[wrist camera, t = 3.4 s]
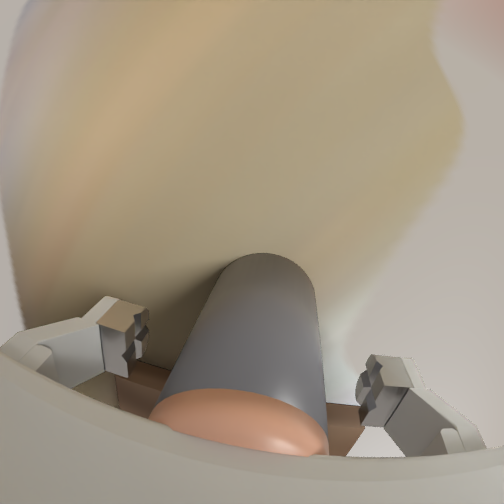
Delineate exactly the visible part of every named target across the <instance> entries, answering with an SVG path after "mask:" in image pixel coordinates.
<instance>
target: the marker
mask: <svg viewBox="0 0 504 504" xmlns="http://www.w3.org/2000/svg"><path fill="white" fill-rule="evenodd" d="M148 419H149V420H152V421H156V422H159V423H162V424H165V425H168V426H169V427H170V428H171V429H172V430H173V431H177V432H180V433H184V434H188V435H191V436H195V437H199V438H203V439H207V440H211V441H216V442H220V443H224V444H229V445H234V446H239V447H244V448H249V449H255V450H261V451H267V452H273V453H280V454H288V455H296V456H304V457H309V456H310V455H313V454H319V455H329V443H328V426H327V412H326V398H325V386H324V374H323V364H322V353H321V343H320V334H319V325H318V316H317V308H316V299H315V292H314V288H313V285H312V283H311V281H310V279H309V277H308V276H307V274H306V273H305V272H304V271H303V270H302V269H301V268H300V267H299V266H298V265H297V264H295V263H294V262H292V261H291V260H289V259H287V258H284V257H282V256H279V255H275V254H269V253H257V254H251V255H246V256H244V257H241V258H239V259H237V260H235V261H234V262H232V263H231V264H229V265H228V266H227V267H226V268H225V269H224V271H223V272H222V273H221V275H220V276H219V278H218V280H217V282H216V284H215V286H214V288H213V290H212V292H211V294H210V296H209V298H208V300H207V302H206V304H205V306H204V307H203V309H202V311H201V313H200V315H199V317H198V319H197V321H196V323H195V325H194V327H193V329H192V331H191V333H190V335H189V337H188V339H187V341H186V343H185V345H184V347H183V349H182V351H181V353H180V355H179V357H178V359H177V361H176V363H175V365H174V367H173V369H172V371H171V373H170V375H169V377H168V379H167V381H166V383H165V385H164V387H163V390H162V392H161V394H160V396H159V398H158V400H157V402H156V404H155V406H154V408H153V410H152V412H151V414H150V416H149V418H148Z"/></svg>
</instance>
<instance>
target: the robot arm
mask: <svg viewBox="0 0 504 504" xmlns="http://www.w3.org/2000/svg"><path fill="white" fill-rule="evenodd" d="M148 320H149V310H148V309H147V308H146V307H143V306H140V305H136V304H133V303H130V302H127V301H123V300H120V299H117V298H114V297H110V296H105V297H103V298H102V299H101V300H100V301H99V302H98V303H97V304H96V305H95V306H94V307H93V308H92V309H91V310H89V311H88V312H87V313H86V314H85V315H84V316H83V317H82V318H79V317H76V318H72V319H68V320H64V321H60V322H56V323H52V324H48V325H44V326H40V327H36V328H32V329H28V330H24V331H21V332H17V333H16V334H15V335H14V336H13V337H12V338H11V339H9V340H8V341H7V342H6V343H5V344H4V345H3V346H1V347H0V504H504V446H500V447H494V448H489V449H487V448H486V446H485V443H484V441H483V439H482V437H481V435H480V432H479V430H478V428H477V426H476V425H475V424H474V423H472V422H471V421H470V420H469V419H467V418H466V417H465V416H464V415H462V414H461V413H460V412H459V411H457V410H456V409H455V408H454V407H452V406H451V405H450V404H449V403H447V402H446V401H445V400H444V399H442V398H441V397H440V396H438V395H437V394H436V393H435V392H434V391H432V390H431V389H427V388H426V386H425V383H424V381H423V379H422V377H421V375H420V372H419V370H418V368H417V366H416V363H415V361H414V360H413V359H412V358H403V357H390V356H382V355H373V354H371V355H370V357H369V358H368V360H367V362H366V368H367V370H366V371H364V372H363V373H361V374H360V376H359V379H358V381H357V385H356V389H355V396H356V401H357V402H358V403H359V404H360V405H361V406H360V408H359V410H358V414H359V419H360V425H361V426H373V427H384V429H385V431H386V432H387V433H388V434H389V436H390V437H391V438H392V439H393V441H394V442H395V443H396V445H397V446H398V447H399V448H400V450H401V451H402V452H403V453H404V454H405V456H406V457H380V458H379V457H377V458H376V457H347V456H331V455H319V454H313V455H310V456H309V457H304V456H296V455H288V454H280V453H273V452H267V451H261V450H255V449H249V448H244V447H239V446H234V445H229V444H224V443H220V442H216V441H211V440H207V439H203V438H199V437H195V436H191V435H188V434H184V433H180V432H177V431H173V430H172V429H171V428H170V427H169V426H168V425H165V424H162V423H159V422H156V421H152V420H149V419H146V418H143V417H140V416H138V415H135V414H132V413H129V412H126V411H124V410H121V409H118V408H116V407H113V406H110V405H108V404H105V403H103V402H100V401H98V400H95V399H93V398H91V397H88V396H86V395H84V394H81V393H79V392H77V391H75V390H72V389H71V388H73V387H75V386H77V385H79V384H81V383H83V382H85V381H87V380H89V379H91V378H93V377H95V376H97V375H99V374H101V373H103V372H105V371H108V372H111V373H114V374H117V375H120V376H123V377H126V378H129V376H130V375H131V373H132V371H133V370H134V368H135V367H136V359H138V358H141V357H142V356H143V354H144V353H145V351H146V348H147V345H148V340H149V330H148V328H147V327H146V325H145V324H146V323H147V322H148ZM104 370H105V371H104Z"/></svg>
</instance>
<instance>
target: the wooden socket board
mask: <svg viewBox="0 0 504 504" xmlns="http://www.w3.org/2000/svg"><path fill="white" fill-rule="evenodd" d="M170 373H171V371H169V370H166V369H162V368H159V367H156V366H152V365H149V364H146V363H143V362H140V361H137V360H136V367H135V368H134V370H133V371H132V373H131V375H130V376H129V378H126V377H123V376H120V375H117V374H116V375H115V381H116V388H117V395H118V401H119V407H120V409H121V410H124V411H126V412H129V413H132V414H135V415H138V416H140V417H143V418H146V419H148V418H149V416H150V414H151V412H152V410H153V408H154V406H155V404H156V402H157V400H158V398H159V396H160V394H161V392H162V390H163V387H164V385H165V383H166V381H167V379H168V377H169V375H170ZM359 408H360V406H351V405H341V404H333V403H326V412H327V426H328V443H329V455H331V456H346V455H347V454H348V452H349V451H350V449H351V448H352V447H353V445H354V444H355V442H356V441H357V439H358V438H359V437H360V435H361V434H362V432H363V431H364V429H365V426H361V425H360V419H359V414H358V410H359Z"/></svg>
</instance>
